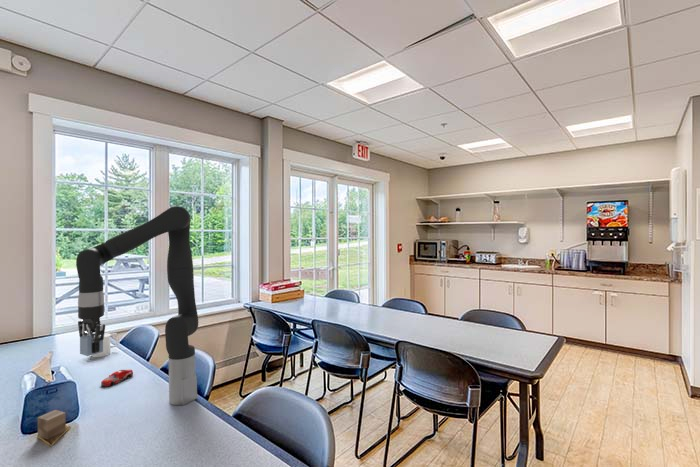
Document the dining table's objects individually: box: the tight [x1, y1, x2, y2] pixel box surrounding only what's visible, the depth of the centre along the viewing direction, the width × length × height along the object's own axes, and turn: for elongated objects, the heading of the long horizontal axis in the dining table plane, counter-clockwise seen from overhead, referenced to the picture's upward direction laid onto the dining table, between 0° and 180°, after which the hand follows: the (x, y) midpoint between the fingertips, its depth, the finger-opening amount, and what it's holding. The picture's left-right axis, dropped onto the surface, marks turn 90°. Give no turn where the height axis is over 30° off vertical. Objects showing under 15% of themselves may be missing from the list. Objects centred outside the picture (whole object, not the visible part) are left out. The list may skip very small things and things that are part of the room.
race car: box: [100, 368, 134, 388], centre depth 153 cm, size 13×5×4 cm, turn 162°
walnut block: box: [37, 409, 67, 440], centre depth 111 cm, size 5×5×6 cm
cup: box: [91, 332, 119, 358], centre depth 187 cm, size 8×12×10 cm
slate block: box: [79, 335, 103, 357], centre depth 125 cm, size 5×5×6 cm
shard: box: [36, 425, 72, 447], centre depth 111 cm, size 11×8×2 cm
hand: (91, 350), depth 125 cm, fingers closed on slate block, 5 cm apart
